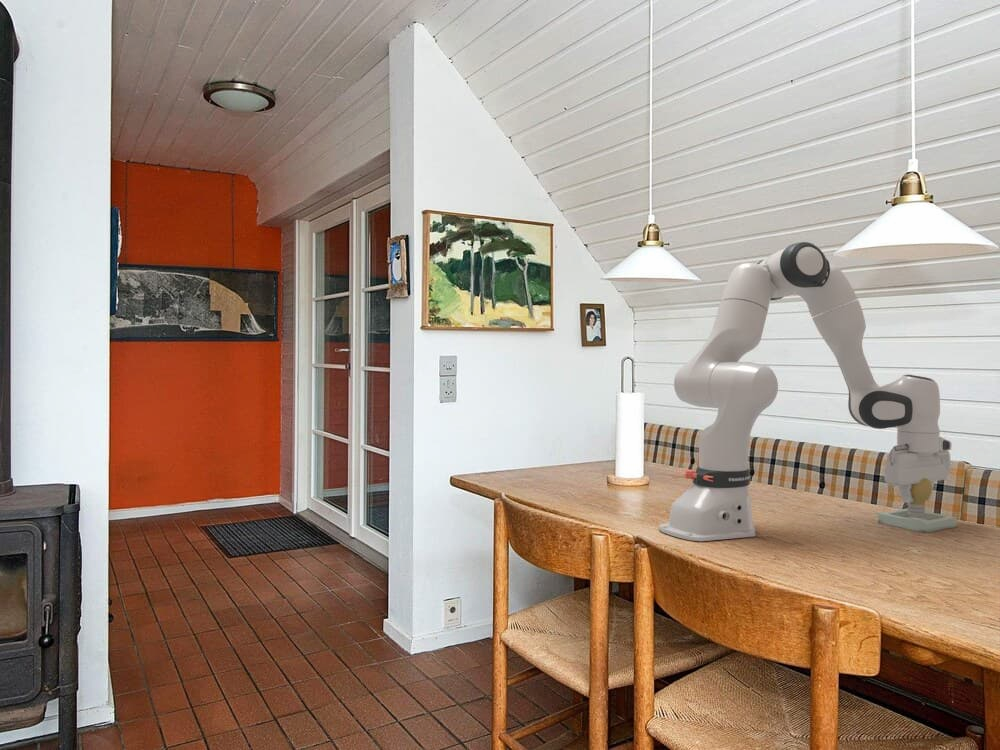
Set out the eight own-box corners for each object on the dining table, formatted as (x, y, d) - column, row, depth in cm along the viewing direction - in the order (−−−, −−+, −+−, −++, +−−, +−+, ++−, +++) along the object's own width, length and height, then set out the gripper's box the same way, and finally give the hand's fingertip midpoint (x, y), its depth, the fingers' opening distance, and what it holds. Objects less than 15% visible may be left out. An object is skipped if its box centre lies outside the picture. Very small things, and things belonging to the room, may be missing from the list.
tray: (926, 532, 176) (926, 523, 176) (877, 522, 187) (877, 513, 187) (956, 526, 182) (957, 517, 182) (908, 516, 192) (908, 508, 192)
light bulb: (900, 518, 183) (902, 475, 183) (901, 512, 189) (902, 471, 188) (931, 520, 180) (933, 478, 180) (931, 515, 186) (932, 474, 185)
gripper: (903, 447, 176) (902, 508, 176) (956, 442, 186) (954, 499, 186) (878, 444, 181) (876, 503, 182) (930, 439, 191) (929, 495, 192)
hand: (916, 501), depth 184 cm, fingers closed on light bulb, 5 cm apart
